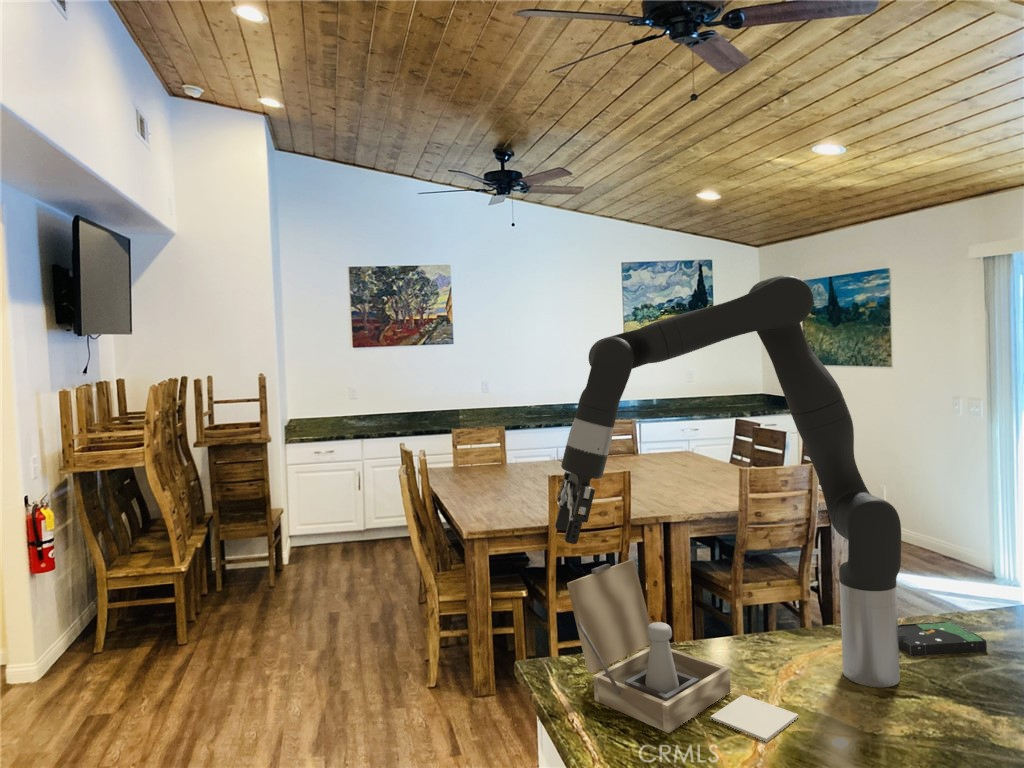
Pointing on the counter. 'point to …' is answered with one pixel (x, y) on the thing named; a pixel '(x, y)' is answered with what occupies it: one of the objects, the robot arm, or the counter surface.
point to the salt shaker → (660, 659)
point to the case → (650, 706)
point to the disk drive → (938, 639)
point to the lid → (610, 613)
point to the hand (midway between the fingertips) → (565, 535)
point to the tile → (755, 717)
